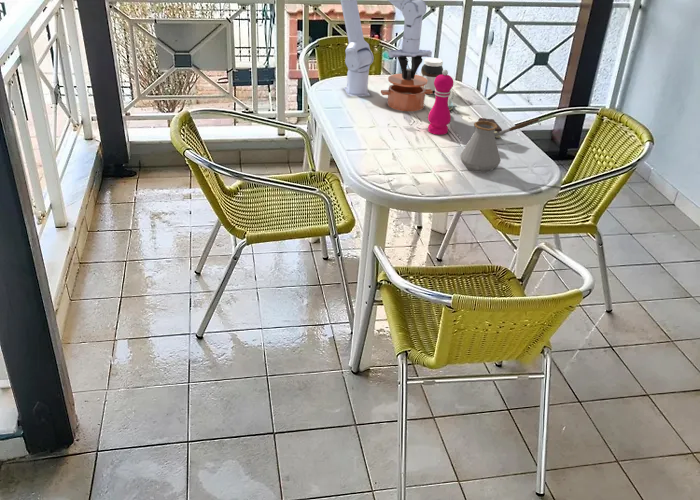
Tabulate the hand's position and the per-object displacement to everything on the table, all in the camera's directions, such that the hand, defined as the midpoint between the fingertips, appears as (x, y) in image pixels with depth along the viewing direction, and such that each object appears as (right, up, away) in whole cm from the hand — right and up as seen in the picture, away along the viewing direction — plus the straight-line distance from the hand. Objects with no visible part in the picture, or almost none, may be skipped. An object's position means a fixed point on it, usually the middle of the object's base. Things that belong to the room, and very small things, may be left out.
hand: (407, 78), depth 232 cm
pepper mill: (+8, -21, -14) cm, 26 cm away
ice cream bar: (+26, -20, -11) cm, 35 cm away
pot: (0, -9, +5) cm, 10 cm away
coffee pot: (+22, -35, -36) cm, 55 cm away
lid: (0, -1, 0) cm, 1 cm away
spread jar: (+12, 0, +21) cm, 24 cm away
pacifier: (+14, -9, +6) cm, 18 cm away
